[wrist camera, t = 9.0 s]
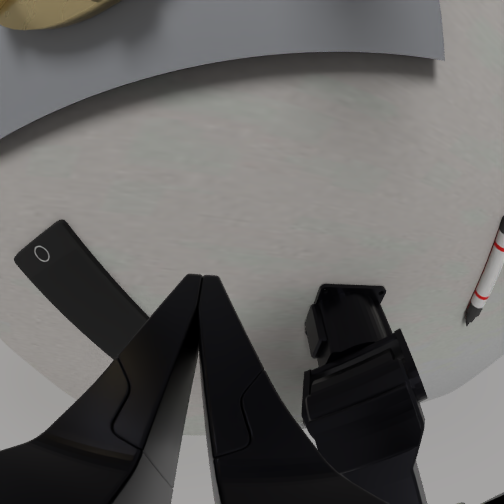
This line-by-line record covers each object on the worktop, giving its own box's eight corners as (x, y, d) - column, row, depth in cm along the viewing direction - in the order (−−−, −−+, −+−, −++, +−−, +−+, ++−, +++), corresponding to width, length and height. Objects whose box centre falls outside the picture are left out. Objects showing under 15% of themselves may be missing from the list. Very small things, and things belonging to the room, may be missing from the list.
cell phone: (64, 214, 21) (59, 220, 21) (181, 345, 31) (180, 352, 31) (16, 253, 24) (11, 259, 23) (123, 360, 33) (122, 366, 33)
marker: (499, 214, 22) (511, 225, 21) (510, 213, 22) (522, 224, 21) (457, 320, 31) (463, 332, 30) (468, 317, 31) (474, 328, 30)
